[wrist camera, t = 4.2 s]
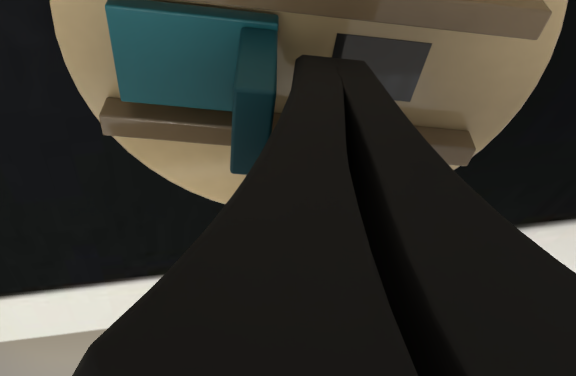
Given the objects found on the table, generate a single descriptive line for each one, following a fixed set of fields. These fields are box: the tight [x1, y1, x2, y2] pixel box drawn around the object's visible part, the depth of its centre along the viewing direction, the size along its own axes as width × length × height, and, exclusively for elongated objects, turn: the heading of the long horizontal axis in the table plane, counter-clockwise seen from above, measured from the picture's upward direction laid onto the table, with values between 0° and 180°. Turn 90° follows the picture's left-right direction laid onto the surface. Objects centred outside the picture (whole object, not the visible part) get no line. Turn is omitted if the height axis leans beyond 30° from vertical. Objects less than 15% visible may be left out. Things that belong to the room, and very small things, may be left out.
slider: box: [105, 0, 279, 175], centre depth 9 cm, size 3×2×2 cm
